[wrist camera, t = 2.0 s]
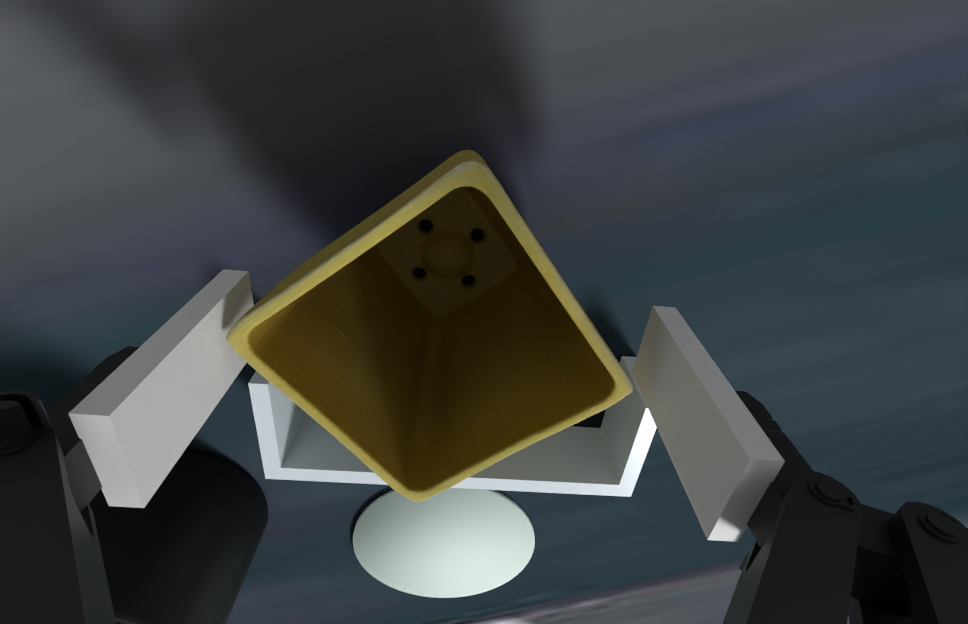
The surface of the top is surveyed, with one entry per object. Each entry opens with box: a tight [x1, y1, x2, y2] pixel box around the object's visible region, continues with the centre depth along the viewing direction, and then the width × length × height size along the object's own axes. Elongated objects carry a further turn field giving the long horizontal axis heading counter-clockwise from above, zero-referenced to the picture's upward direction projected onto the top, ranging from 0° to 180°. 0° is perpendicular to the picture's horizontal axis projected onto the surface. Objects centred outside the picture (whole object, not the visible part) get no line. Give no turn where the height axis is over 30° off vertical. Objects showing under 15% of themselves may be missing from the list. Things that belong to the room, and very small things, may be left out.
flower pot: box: [226, 150, 633, 502], centre depth 18 cm, size 9×9×9 cm
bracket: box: [248, 356, 657, 497], centre depth 24 cm, size 18×6×4 cm, turn 84°
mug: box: [89, 449, 268, 624], centre depth 26 cm, size 9×12×9 cm
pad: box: [353, 488, 535, 598], centre depth 32 cm, size 12×12×1 cm
